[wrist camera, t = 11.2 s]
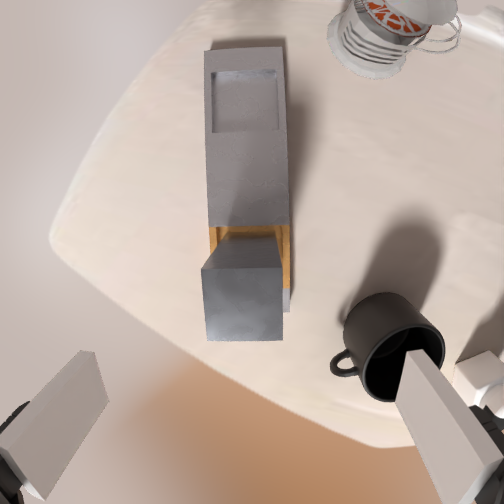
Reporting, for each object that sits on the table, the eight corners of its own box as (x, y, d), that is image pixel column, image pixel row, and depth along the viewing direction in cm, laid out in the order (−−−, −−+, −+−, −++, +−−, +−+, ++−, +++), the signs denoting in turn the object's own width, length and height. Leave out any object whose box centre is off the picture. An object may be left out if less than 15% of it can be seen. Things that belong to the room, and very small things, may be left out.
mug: (312, 314, 36) (326, 355, 27) (406, 279, 34) (443, 308, 25) (331, 376, 37) (346, 422, 29) (416, 343, 36) (447, 381, 27)
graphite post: (274, 230, 33) (282, 267, 19) (275, 277, 34) (282, 340, 20) (226, 232, 33) (200, 269, 19) (229, 278, 34) (207, 340, 21)
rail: (281, 53, 29) (282, 46, 27) (288, 305, 35) (289, 312, 33) (207, 57, 29) (204, 50, 28) (217, 306, 36) (214, 313, 34)
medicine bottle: (482, 383, 38) (518, 425, 26) (448, 398, 38) (482, 446, 27) (489, 348, 36) (532, 388, 24) (454, 363, 37) (495, 410, 25)
